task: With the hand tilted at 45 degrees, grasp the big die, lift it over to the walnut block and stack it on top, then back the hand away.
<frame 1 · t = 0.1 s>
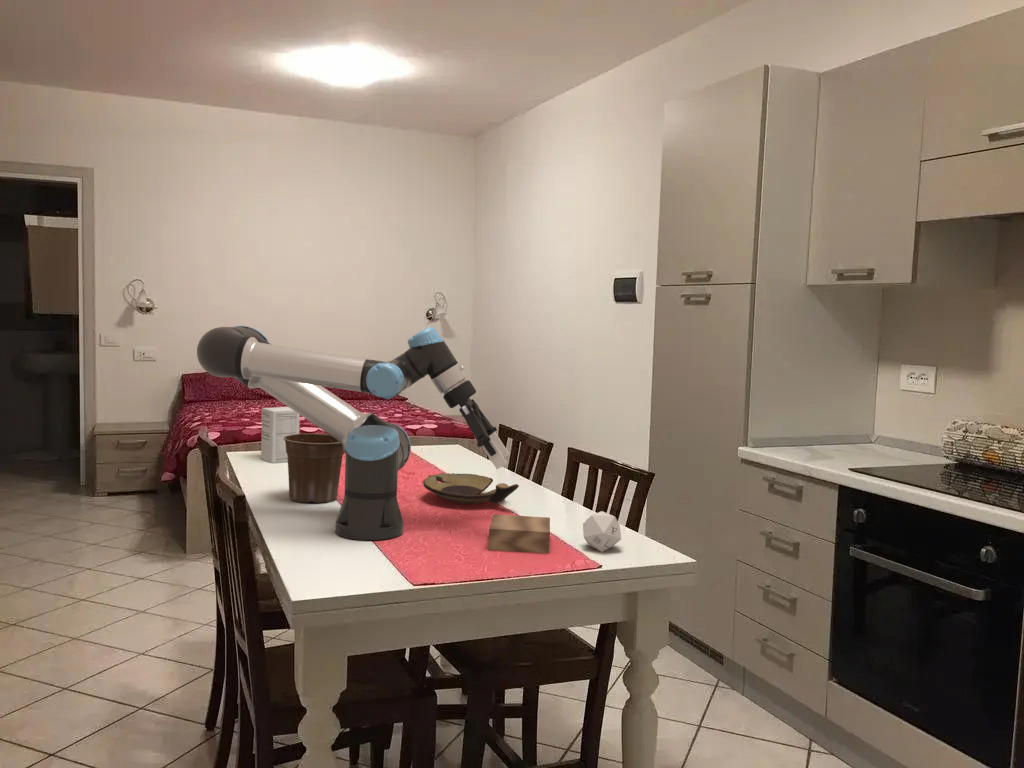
hand: (503, 461, 196), 15 cm above the table, tool tilted 35°, fingers open, 13 cm apart
die: (600, 549, 181), on the table
plant pot: (314, 499, 215), on the table
supplement box: (279, 460, 267), on the table
walnut block: (519, 545, 182), on the table
oil lamp: (468, 503, 219), on the table
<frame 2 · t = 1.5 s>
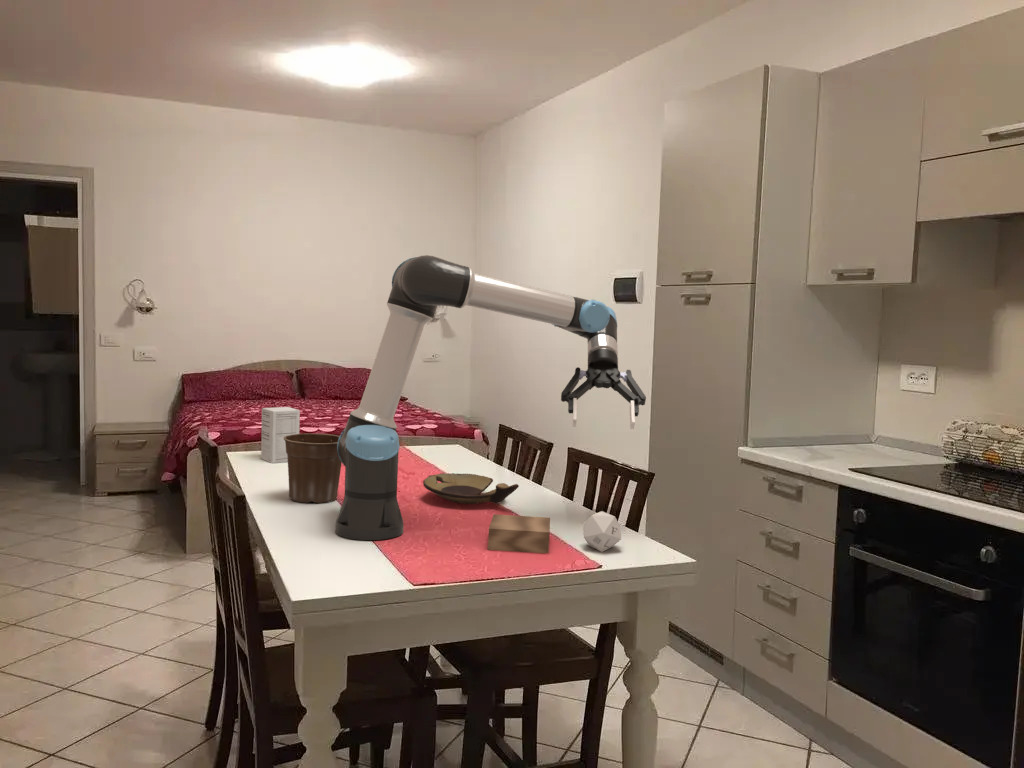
hand: (603, 424, 193), 26 cm above the table, tool tilted 45°, fingers open, 13 cm apart
nothing on the table moved.
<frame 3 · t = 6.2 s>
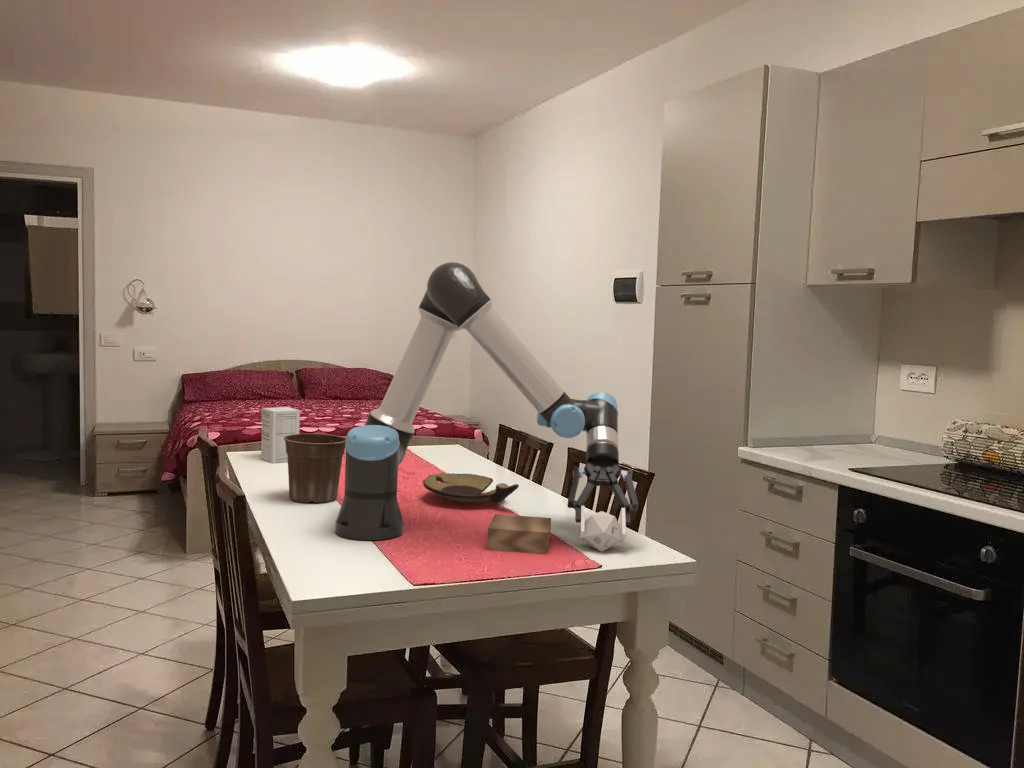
hand: (602, 535, 178), 4 cm above the table, tool tilted 45°, fingers closed on die, 8 cm apart
die: (600, 549, 181), on the table, touching gripper
everything else where it was.
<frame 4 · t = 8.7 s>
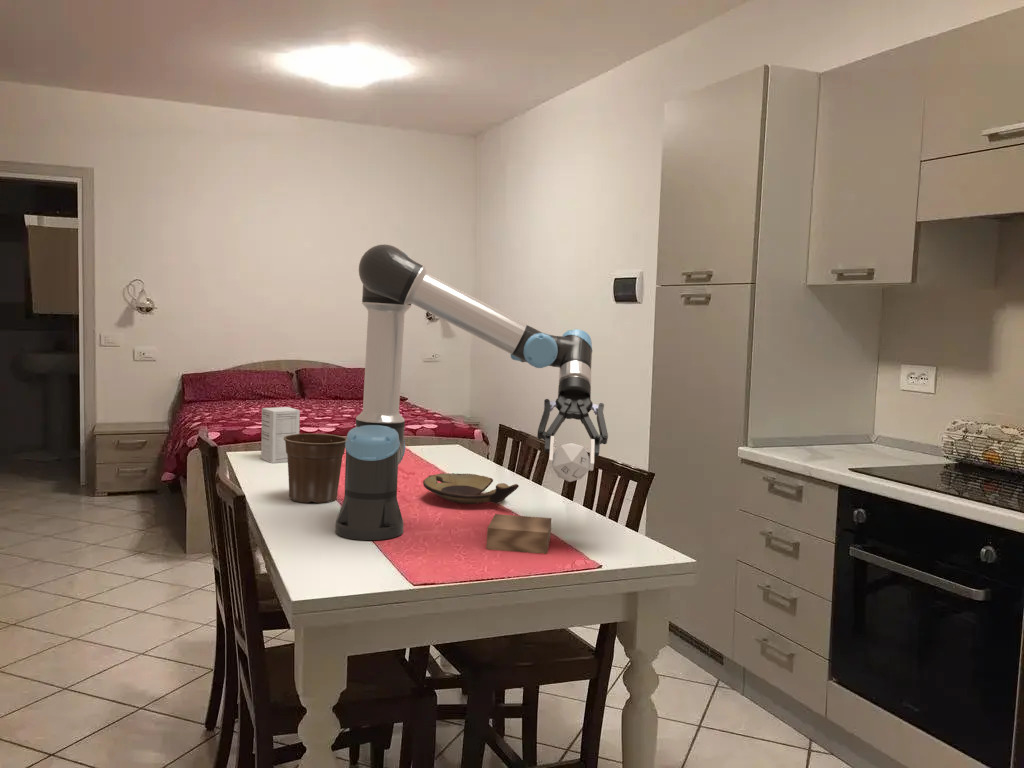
hand: (571, 465, 177), 19 cm above the table, tool tilted 45°, fingers closed on die, 8 cm apart
die: (569, 480, 181), point 15 cm above the table, touching gripper
everything else where it was.
when the fingers open (10 cm above the table, at t = 11.3 s): die drops 1 cm, resting on walnut block.
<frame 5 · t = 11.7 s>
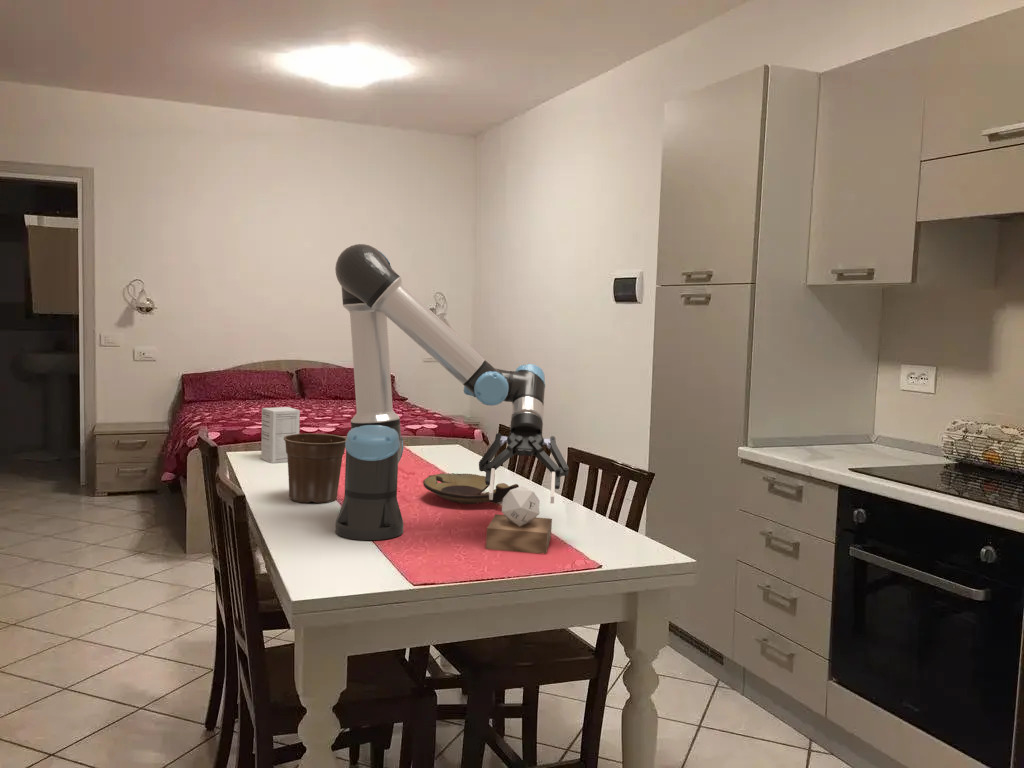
hand: (521, 498, 179), 11 cm above the table, tool tilted 45°, fingers open, 13 cm apart
die: (519, 523, 182), point 4 cm above the table, touching walnut block
walnut block: (519, 545, 182), on the table, touching die
everything else where it was.
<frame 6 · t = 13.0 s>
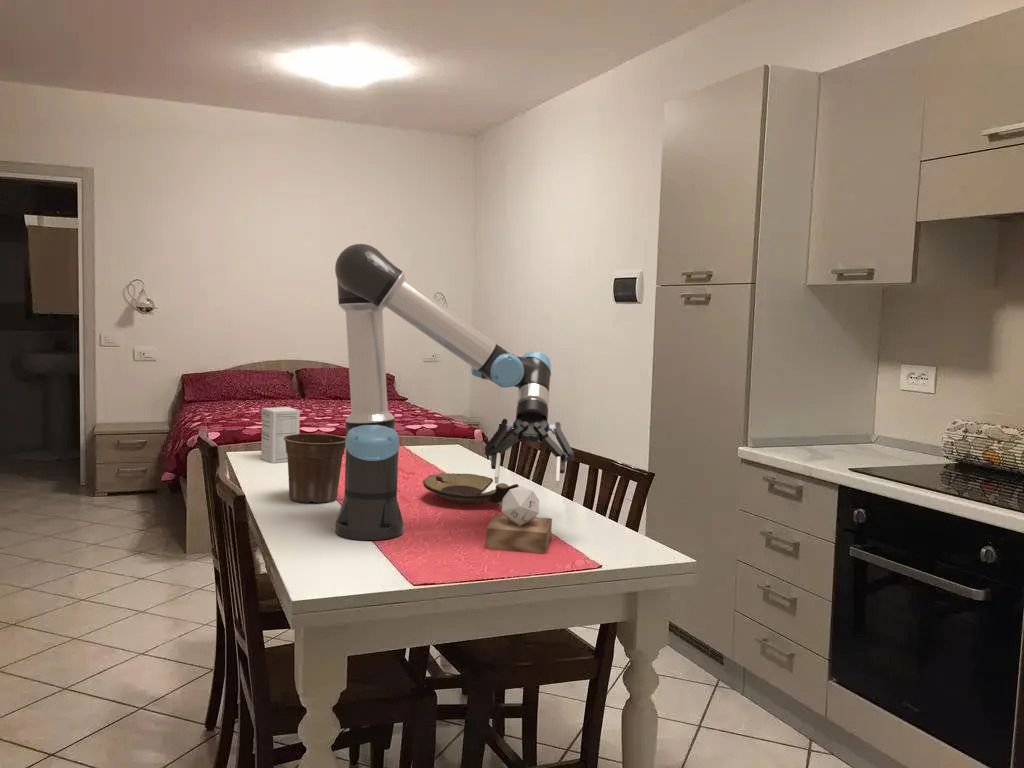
hand: (526, 482, 183), 13 cm above the table, tool tilted 45°, fingers open, 13 cm apart
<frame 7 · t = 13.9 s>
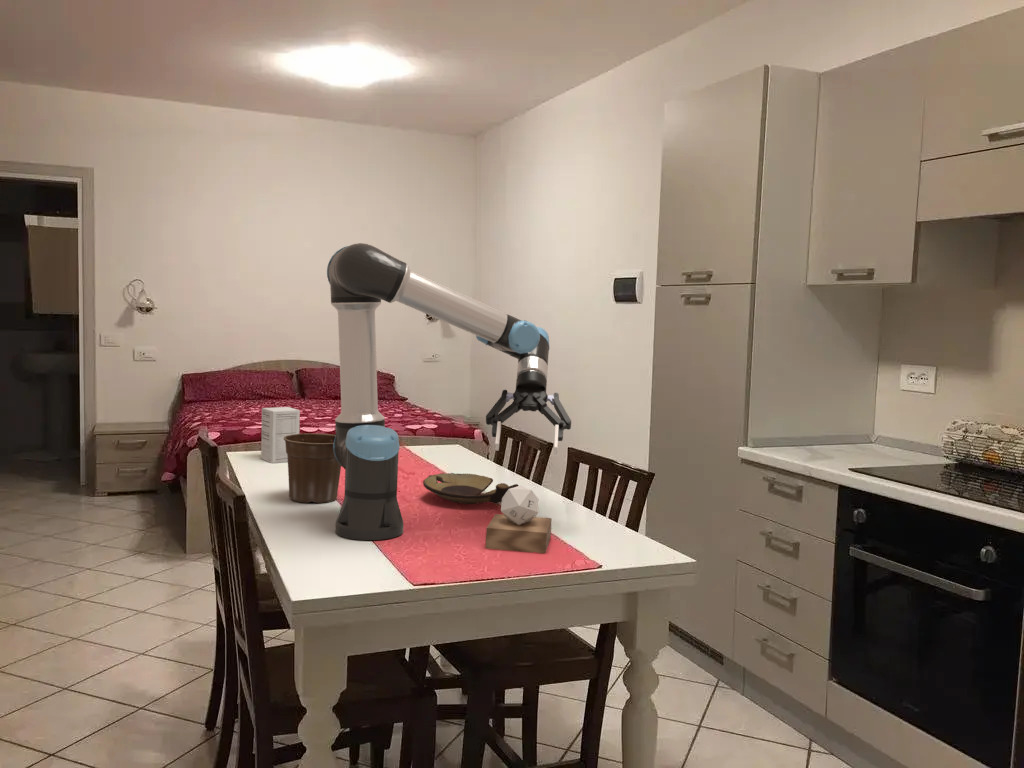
hand: (526, 449, 190), 20 cm above the table, tool tilted 45°, fingers open, 13 cm apart
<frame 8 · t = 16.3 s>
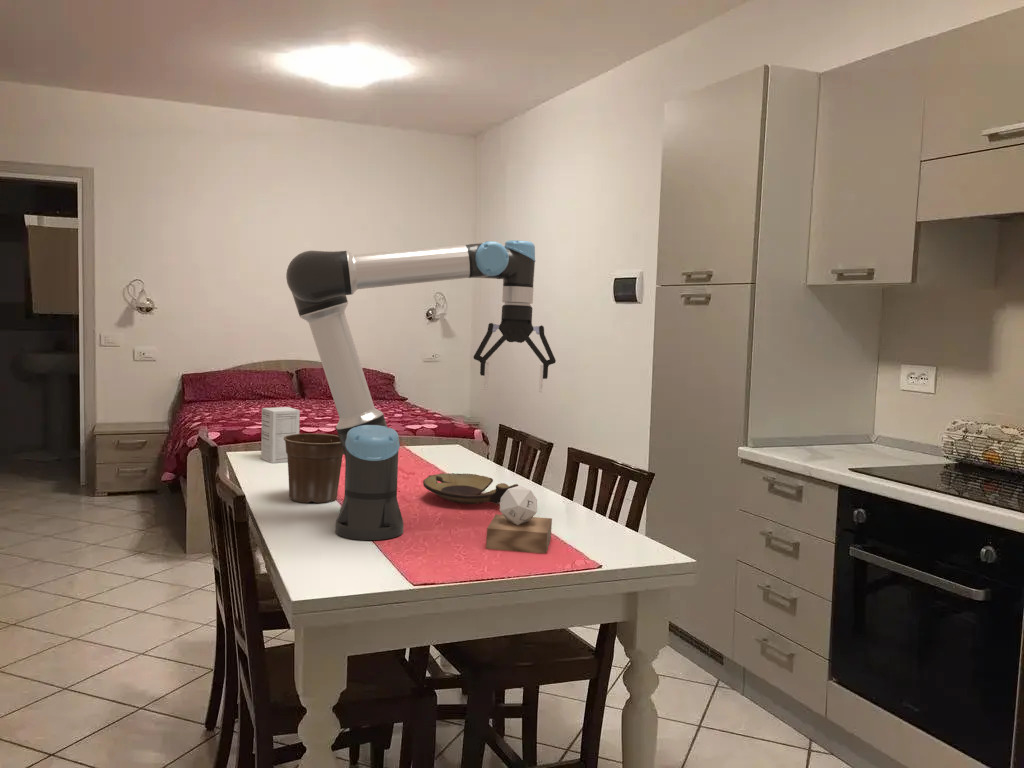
hand: (513, 390, 204), 32 cm above the table, tool pointing down, fingers open, 13 cm apart
at the end: die 1.1 cm off-centre on the walnut block, point 4.8 cm above the walnut block's base; die tilted 1°; the gripper is holding nothing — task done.
